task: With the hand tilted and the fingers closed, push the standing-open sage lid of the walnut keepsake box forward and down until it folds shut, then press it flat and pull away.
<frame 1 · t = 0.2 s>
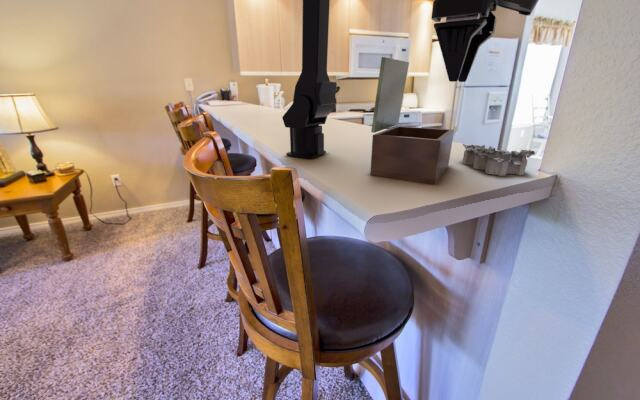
hand: (458, 81, 45), 15 cm above the breakfast bar, tool pointing down, fingers open, 9 cm apart
lid: (391, 95, 50), point 12 cm above the breakfast bar, hinge at 85.0°
keepsake box: (411, 170, 52), on the breakfast bar
egg carton: (490, 168, 53), on the breakfast bar
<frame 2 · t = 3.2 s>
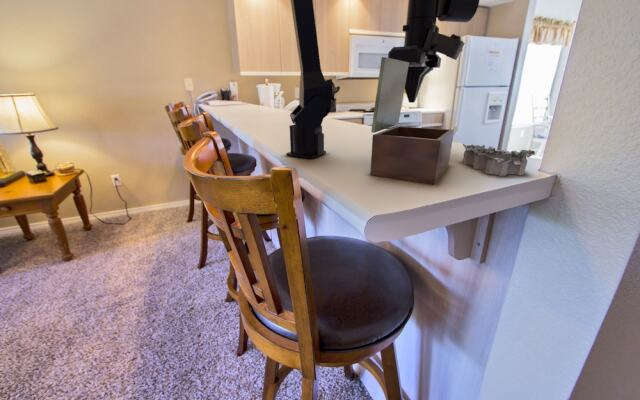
hand: (411, 102, 64), 11 cm above the breakfast bar, tool pointing down, fingers closed
nothing on the breakfast bar moved.
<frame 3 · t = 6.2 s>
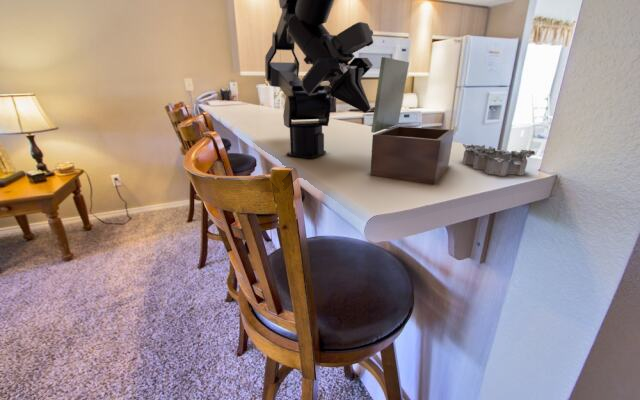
hand: (368, 110, 54), 10 cm above the breakfast bar, tool tilted 40°, fingers closed
nothing on the breakfast bar moved.
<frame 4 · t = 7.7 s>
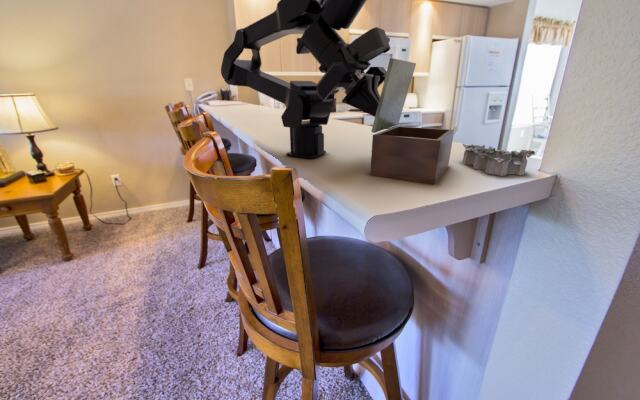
hand: (385, 118, 51), 9 cm above the breakfast bar, tool tilted 45°, fingers closed, pressing on lid
lid: (394, 96, 49), point 12 cm above the breakfast bar, hinge at 77.9°, touching gripper
everything else where it was.
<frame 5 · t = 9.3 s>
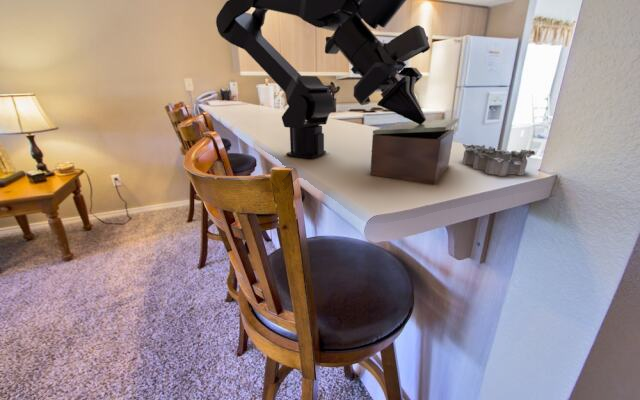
hand: (423, 122, 48), 8 cm above the breakfast bar, tool tilted 45°, fingers closed
lid: (417, 126, 49), point 8 cm above the breakfast bar, hinge at 6.8°
everything else where it was.
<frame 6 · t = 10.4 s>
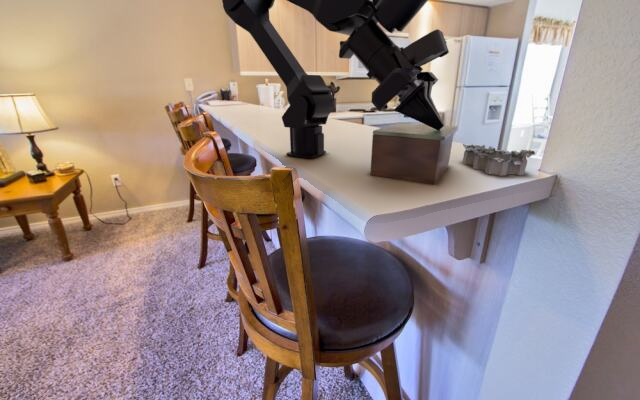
hand: (441, 128, 47), 8 cm above the breakfast bar, tool tilted 45°, fingers closed, pressing on lid
lid: (417, 130, 49), point 7 cm above the breakfast bar, hinge at -0.3°, touching gripper, keepsake box
everything else where it was.
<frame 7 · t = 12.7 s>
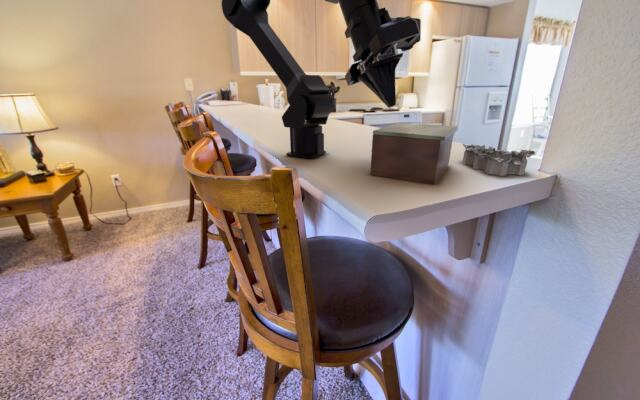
hand: (392, 106, 50), 11 cm above the breakfast bar, tool tilted 25°, fingers closed
lid: (417, 130, 49), point 7 cm above the breakfast bar, hinge at -0.3°, touching keepsake box
everything else where it was.
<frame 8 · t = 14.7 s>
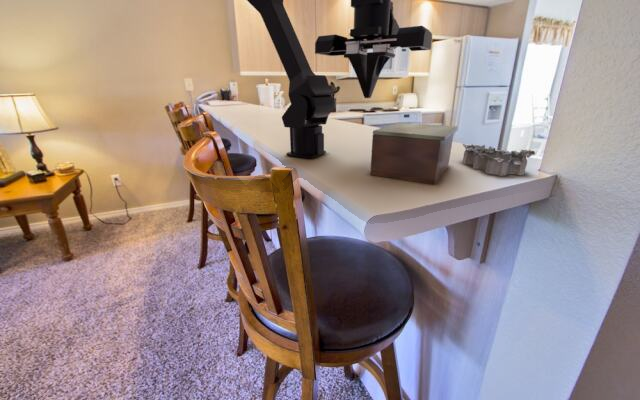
hand: (367, 98, 52), 12 cm above the breakfast bar, tool pointing down, fingers closed
nothing on the breakfast bar moved.
at the end: lid at +0° (first picture: +85°); egg carton moved 0.2 cm from its start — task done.
